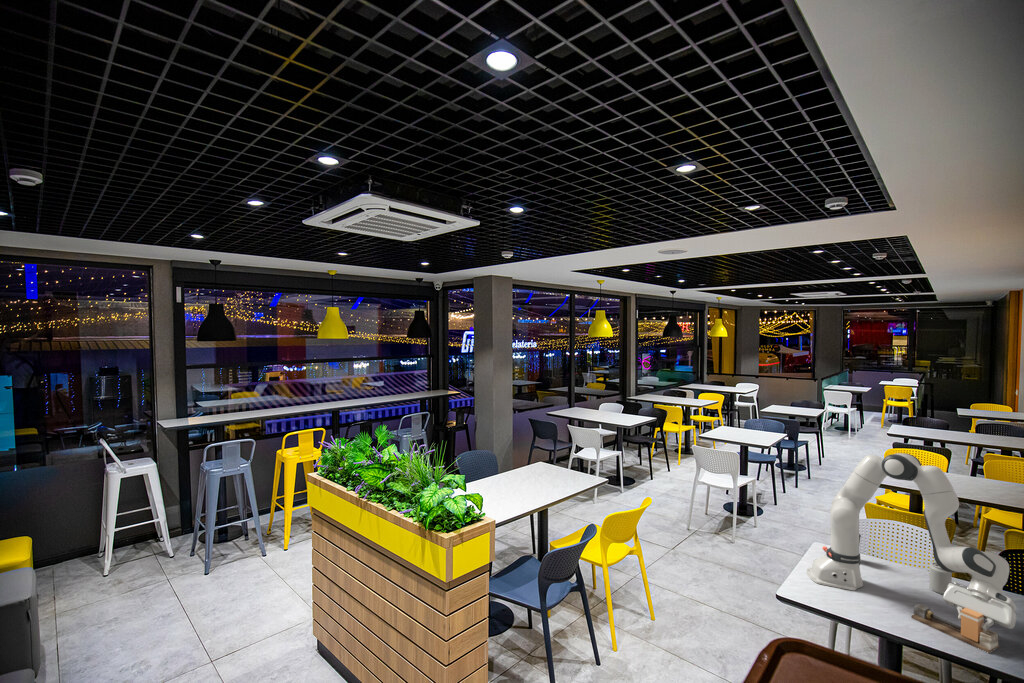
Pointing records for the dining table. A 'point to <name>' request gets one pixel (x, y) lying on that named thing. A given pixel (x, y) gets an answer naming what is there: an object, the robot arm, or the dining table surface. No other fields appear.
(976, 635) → the orange box
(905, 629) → the dining table surface
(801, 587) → the dining table surface
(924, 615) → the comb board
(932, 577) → the can
